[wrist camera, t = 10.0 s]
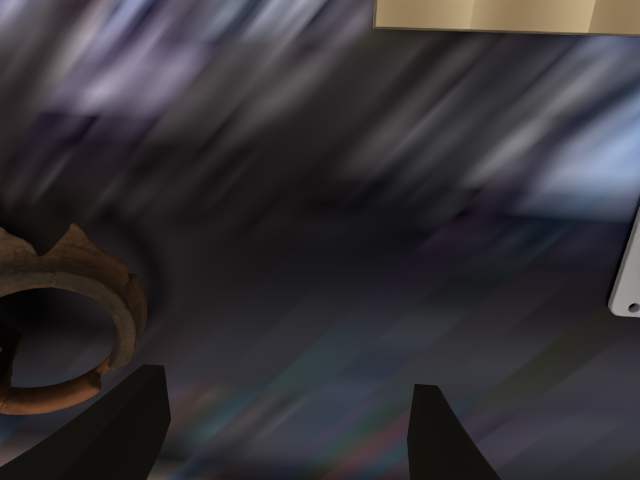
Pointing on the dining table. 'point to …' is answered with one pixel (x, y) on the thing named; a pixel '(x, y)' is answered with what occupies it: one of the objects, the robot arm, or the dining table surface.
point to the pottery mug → (78, 276)
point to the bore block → (512, 16)
